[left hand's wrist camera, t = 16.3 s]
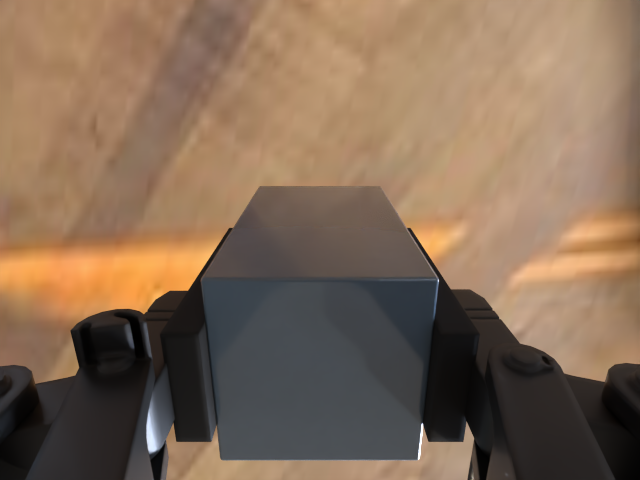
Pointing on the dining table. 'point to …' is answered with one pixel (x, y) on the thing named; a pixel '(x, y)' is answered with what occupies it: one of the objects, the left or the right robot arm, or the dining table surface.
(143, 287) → the dining table surface
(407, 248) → the block
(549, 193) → the dining table surface
